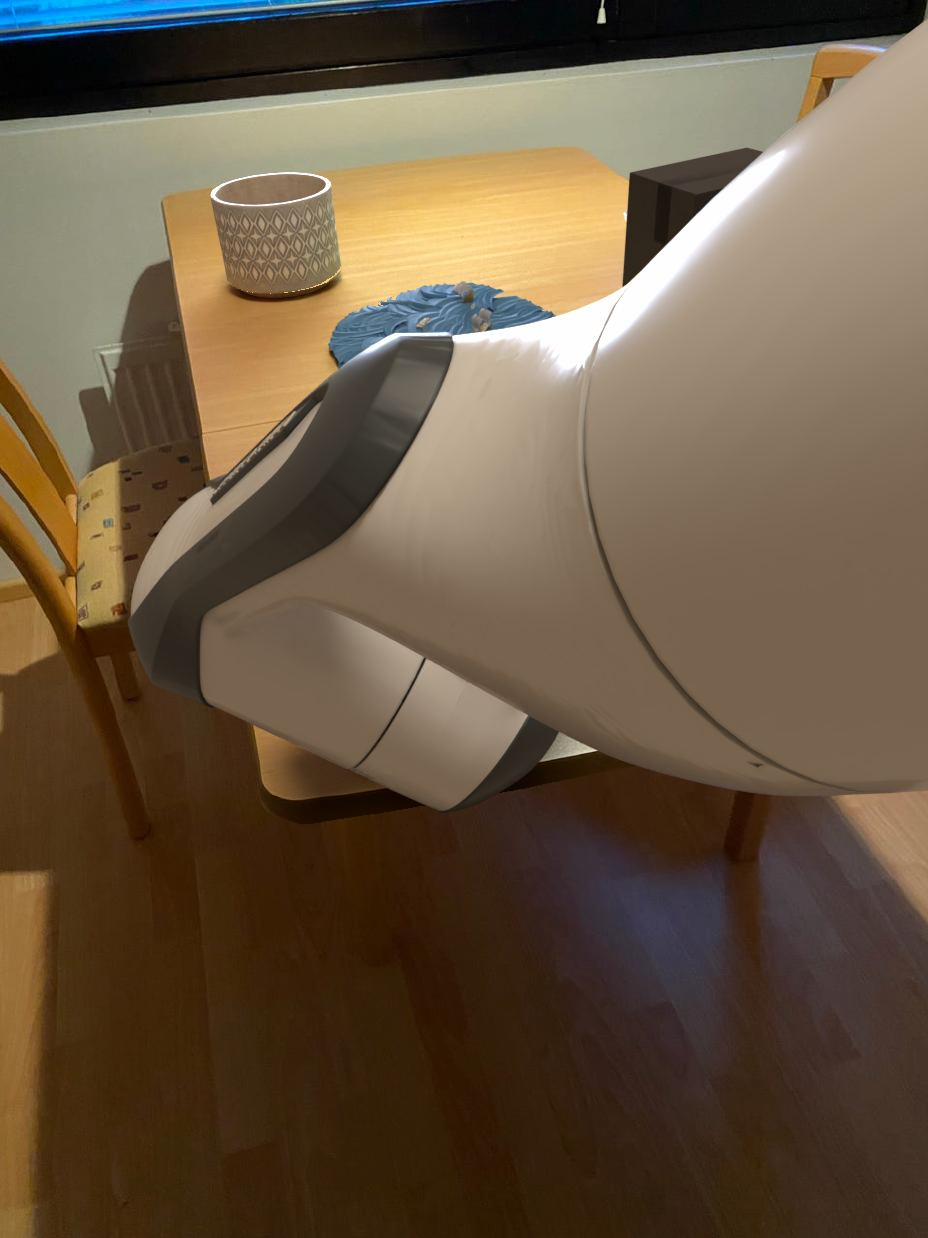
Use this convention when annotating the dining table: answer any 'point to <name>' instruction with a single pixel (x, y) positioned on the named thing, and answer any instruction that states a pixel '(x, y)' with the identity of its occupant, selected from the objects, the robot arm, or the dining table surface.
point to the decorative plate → (432, 316)
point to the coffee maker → (673, 201)
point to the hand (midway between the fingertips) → (387, 604)
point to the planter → (277, 233)
